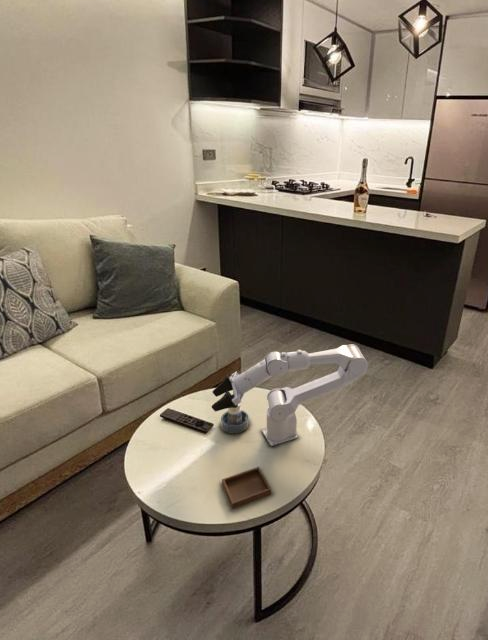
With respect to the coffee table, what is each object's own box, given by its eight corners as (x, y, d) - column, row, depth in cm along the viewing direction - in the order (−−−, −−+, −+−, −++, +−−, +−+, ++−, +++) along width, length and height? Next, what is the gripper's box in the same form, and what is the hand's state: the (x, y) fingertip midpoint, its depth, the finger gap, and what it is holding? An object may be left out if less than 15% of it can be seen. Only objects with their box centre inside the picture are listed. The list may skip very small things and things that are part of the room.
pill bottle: (239, 429, 137) (238, 409, 133) (225, 427, 138) (225, 407, 134) (243, 421, 141) (243, 400, 138) (231, 418, 142) (230, 398, 139)
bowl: (243, 413, 145) (243, 406, 144) (252, 429, 138) (252, 422, 136) (218, 420, 141) (217, 413, 140) (226, 437, 134) (225, 430, 132)
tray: (258, 471, 121) (258, 466, 120) (271, 494, 113) (271, 489, 112) (222, 484, 116) (221, 479, 115) (232, 509, 108) (232, 503, 107)
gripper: (242, 357, 130) (207, 379, 131) (244, 383, 117) (204, 407, 118) (254, 372, 133) (220, 394, 134) (257, 399, 120) (219, 422, 121)
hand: (213, 401), depth 126 cm, fingers open, 7 cm apart
